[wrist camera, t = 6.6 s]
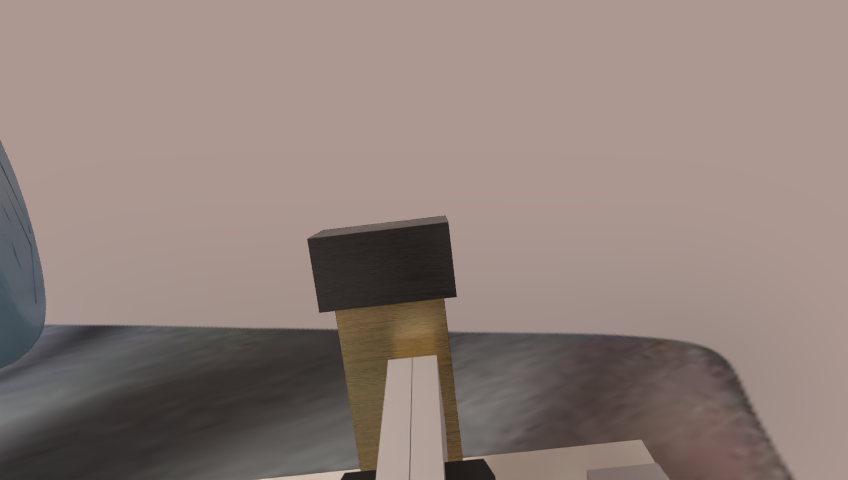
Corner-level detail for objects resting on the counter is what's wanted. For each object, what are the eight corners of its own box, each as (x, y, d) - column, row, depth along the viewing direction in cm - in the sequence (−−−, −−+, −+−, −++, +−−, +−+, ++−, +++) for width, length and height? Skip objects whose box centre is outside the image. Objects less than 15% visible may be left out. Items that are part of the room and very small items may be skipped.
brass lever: (371, 626, 16) (307, 239, 13) (377, 575, 17) (322, 230, 15) (492, 615, 15) (448, 222, 13) (485, 564, 17) (445, 215, 15)
